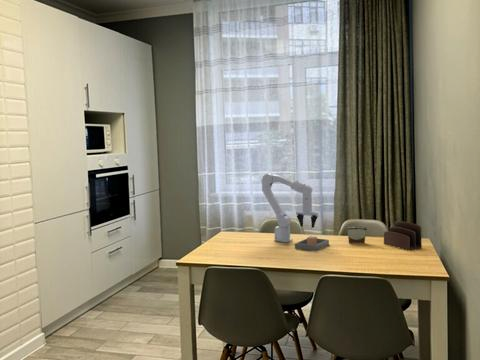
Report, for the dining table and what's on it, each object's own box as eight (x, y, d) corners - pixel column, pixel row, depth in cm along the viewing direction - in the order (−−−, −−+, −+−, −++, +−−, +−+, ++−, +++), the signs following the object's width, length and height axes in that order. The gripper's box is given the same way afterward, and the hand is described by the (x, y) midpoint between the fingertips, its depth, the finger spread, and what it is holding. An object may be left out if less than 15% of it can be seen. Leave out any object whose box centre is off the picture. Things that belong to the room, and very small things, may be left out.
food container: (365, 241, 275) (365, 225, 274) (367, 243, 269) (367, 227, 268) (345, 241, 276) (345, 225, 275) (346, 243, 270) (346, 227, 269)
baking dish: (294, 248, 259) (294, 243, 259) (309, 242, 275) (309, 237, 274) (315, 251, 252) (315, 245, 251) (328, 244, 267) (328, 239, 267)
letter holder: (395, 242, 271) (396, 219, 269) (421, 249, 253) (422, 224, 252) (383, 244, 266) (383, 221, 265) (409, 251, 248) (409, 226, 247)
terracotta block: (307, 245, 262) (306, 237, 262) (310, 244, 266) (310, 236, 266) (313, 246, 260) (313, 238, 259) (316, 245, 263) (316, 237, 263)
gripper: (293, 205, 275) (293, 226, 276) (315, 206, 267) (315, 229, 268) (298, 203, 281) (299, 225, 282) (320, 205, 272) (320, 227, 273)
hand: (307, 227), depth 275 cm, fingers open, 7 cm apart
